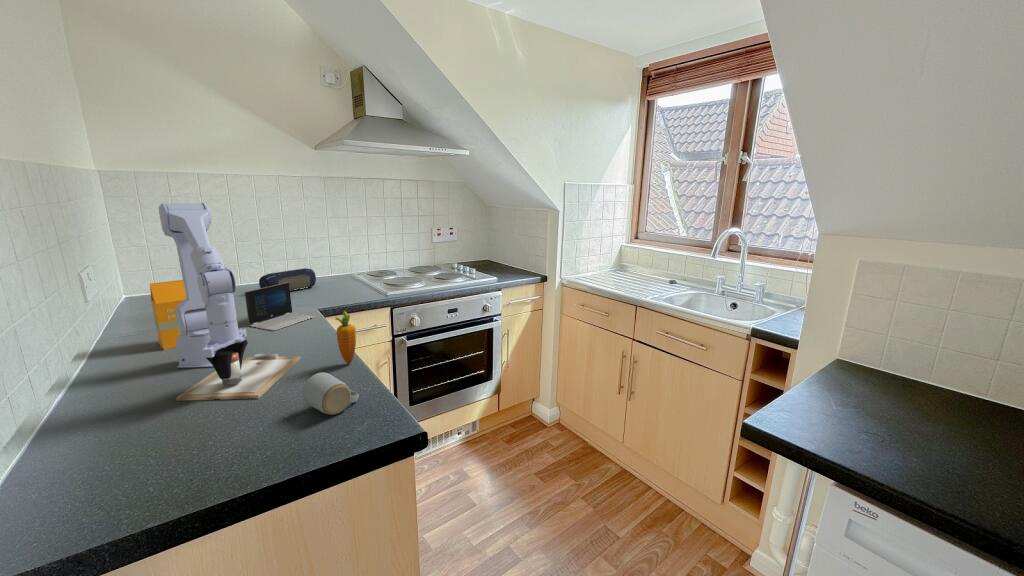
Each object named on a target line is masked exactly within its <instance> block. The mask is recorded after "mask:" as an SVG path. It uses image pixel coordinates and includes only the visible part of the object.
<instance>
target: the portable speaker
mask: <svg viewBox="0 0 1024 576" xmlns="http://www.w3.org/2000/svg"><path fill="white" fill-rule="evenodd" d="M316 281H317V276H316V273H315V271H314V270H313V269H311V268H307V267H306V268H299V269H291V270H285V271H284V270H283V271H278V272H271V273H266V274H265V275H262V276H261V277H260V278H259V280H258V284H259V289H260V288H265V287H269V286H274V285H278V284H283V283H287V282H289V288H290V290H294V289H297V288H298V289H300V288H304V287H305V288H306V287H311V286H313V287H315V284H316ZM311 288H312V287H311Z"/></svg>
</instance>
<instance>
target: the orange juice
mask: <svg viewBox="0 0 1024 576" xmlns="http://www.w3.org/2000/svg"><path fill="white" fill-rule="evenodd" d="M149 290H150V301H151V303H150V304H151V307H152V311H153V312H152V313H153V317H154V318H153V319H154V325H155V328H156V334H157V338H158V344H159V346H160V345H161V346H162V347H161V346H160V347H161V349H162V348H163V349H164V350H163V349H162V350H163V351H166V350H165V349H168V350H171V349H170V348H173V349H175V348H174V347H176V340H177V337H178V336H179V335H180V334H181V333H180V332H179V329H178V326H177V322H176V310H175V309H176V306H177V305H178V304H179V303H181V302H182V301H183V300H184V299H185V298H186V293H185V288H184V283H183V279H179V280H170V281H162V282H161V281H160V282H154V283H153V282H152V283H150V284H149ZM190 310H194V309H190ZM187 311H188V310H187Z"/></svg>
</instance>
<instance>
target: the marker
mask: <svg viewBox="0 0 1024 576" xmlns="http://www.w3.org/2000/svg"><path fill="white" fill-rule="evenodd" d="M241 381H242V377H241V370H240V363H239V355H238V352H233V355H232V358H231V377H230V378H229V379H222V384H223V385H233V384H237V383H239V382H241Z"/></svg>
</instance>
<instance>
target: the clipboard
mask: <svg viewBox="0 0 1024 576" xmlns="http://www.w3.org/2000/svg"><path fill="white" fill-rule="evenodd" d="M301 359H302V356H301V355H292V356H291V355H290V356H289V355H288V356H284V355H283V356H279V353H256V354H254V355H253V356H248V357H247V356H243V359H242V366H241V377H242V381H241V382H239V383H237V384H233V385H223V384H222V379H220V378H219V376H218V374H217V372H216V370H215V371H213V372H212V373H210V374H209V375H207V376H205V377H204V378H203V379H202V380H200V381H198V382H197V383H195V384H194V385H193V386H191V387H190V388H188V389H187V390H185V391H184V392H182V393H181V394H179V395H178V396H176V401H177V402H179V401H180V402H182V401H210V400H212V401H213V400H214V399H220V400H246V399H248V398H249V399H251V398H252V399H260V398H261V397H262V396H263V395H264V394H265V393H266V392H267V391H268V390H269V389H271V387H273V385H275V382H276V383H277V381H279V380H280V379H281V378H282V377H283V376H284V375H285V374H286V373H288V371H290V370H291V368H293V367H294V366H295V365H296V364H297V363H298V362H299V361H300V360H301ZM249 399H248V400H249ZM252 399H251V400H252Z"/></svg>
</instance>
